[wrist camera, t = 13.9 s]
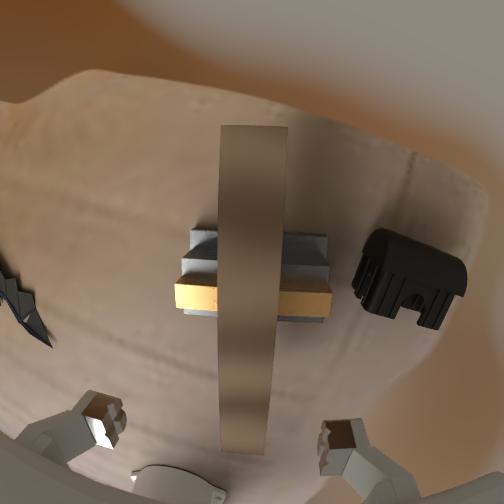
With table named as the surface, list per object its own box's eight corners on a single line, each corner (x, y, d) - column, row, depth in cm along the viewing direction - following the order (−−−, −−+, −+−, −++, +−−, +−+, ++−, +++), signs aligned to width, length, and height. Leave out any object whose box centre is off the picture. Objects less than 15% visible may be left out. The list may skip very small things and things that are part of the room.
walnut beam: (233, 137, 20) (221, 125, 15) (284, 139, 19) (287, 127, 15) (228, 413, 26) (221, 451, 21) (265, 416, 25) (263, 455, 20)
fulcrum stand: (317, 309, 31) (329, 349, 23) (195, 301, 32) (172, 339, 24) (325, 234, 29) (343, 255, 21) (194, 227, 30) (167, 245, 22)
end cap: (443, 250, 28) (476, 267, 22) (419, 307, 30) (446, 334, 24) (369, 221, 28) (394, 234, 22) (345, 285, 30) (363, 313, 24)
